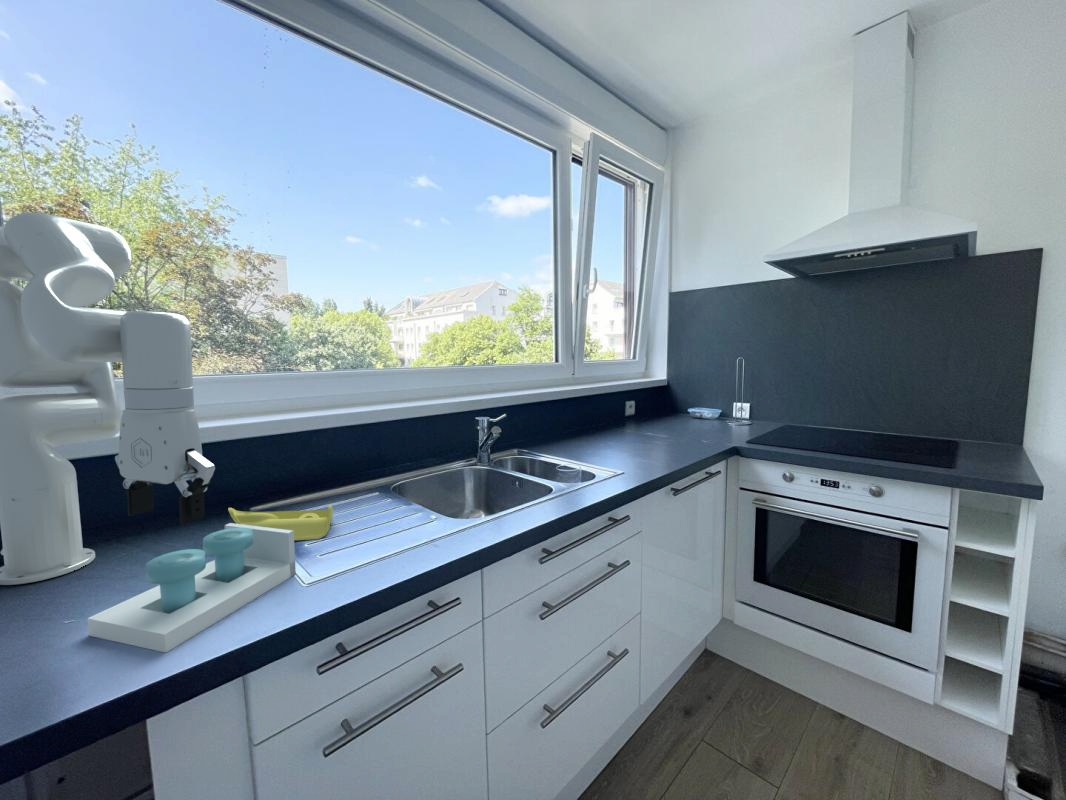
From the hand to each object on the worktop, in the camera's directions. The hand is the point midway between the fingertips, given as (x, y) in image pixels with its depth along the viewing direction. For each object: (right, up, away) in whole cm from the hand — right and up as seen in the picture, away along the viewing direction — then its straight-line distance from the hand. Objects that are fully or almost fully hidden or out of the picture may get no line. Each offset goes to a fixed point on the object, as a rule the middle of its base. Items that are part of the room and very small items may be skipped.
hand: (166, 516), depth 64 cm
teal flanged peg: (+3, -14, +10) cm, 18 cm away
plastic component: (-2, -13, +33) cm, 36 cm away
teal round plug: (+1, -15, +1) cm, 15 cm away
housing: (+2, -15, +5) cm, 16 cm away
